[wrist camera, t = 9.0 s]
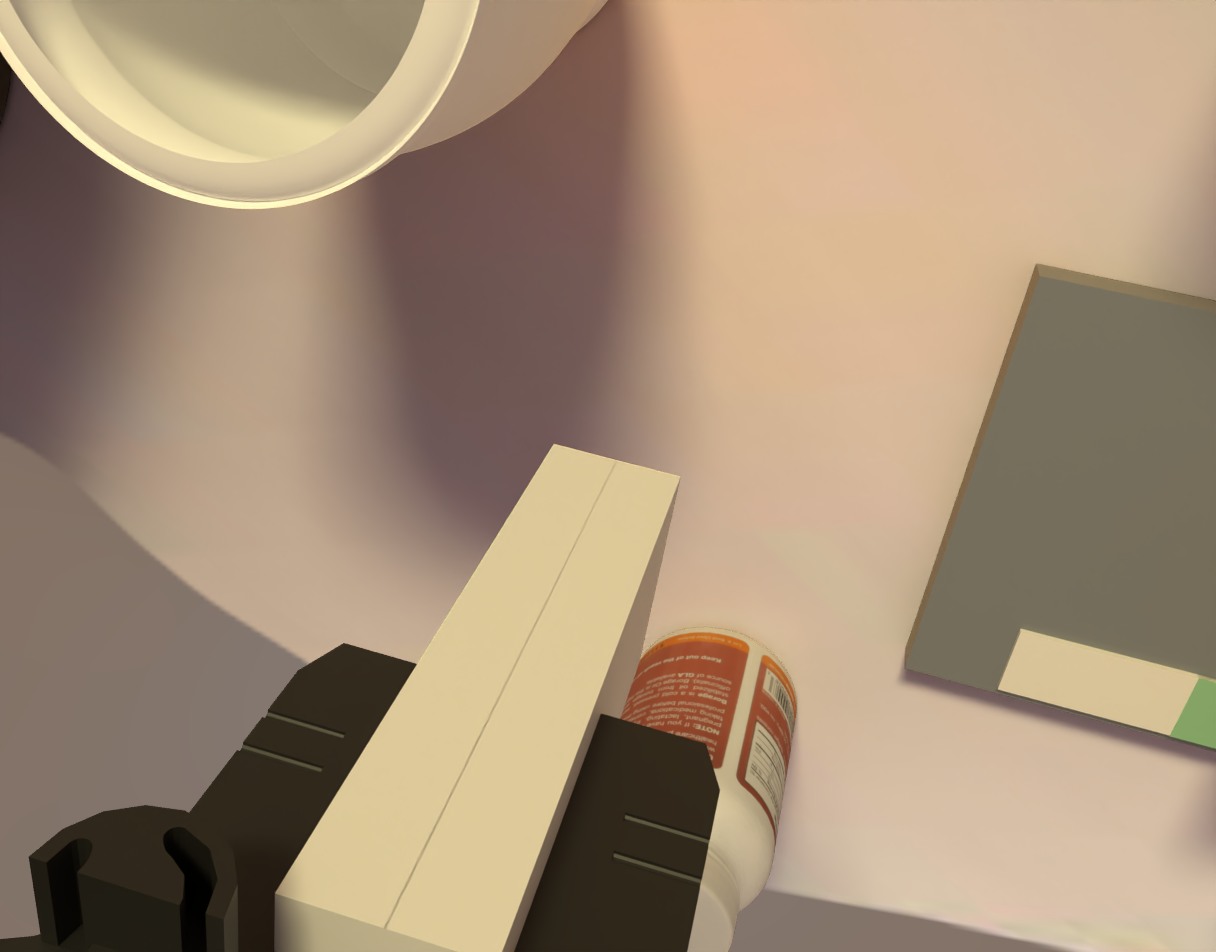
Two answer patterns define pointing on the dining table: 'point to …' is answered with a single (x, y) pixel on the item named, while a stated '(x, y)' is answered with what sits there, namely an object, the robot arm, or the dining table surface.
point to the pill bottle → (724, 755)
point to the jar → (276, 83)
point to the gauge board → (1089, 516)
